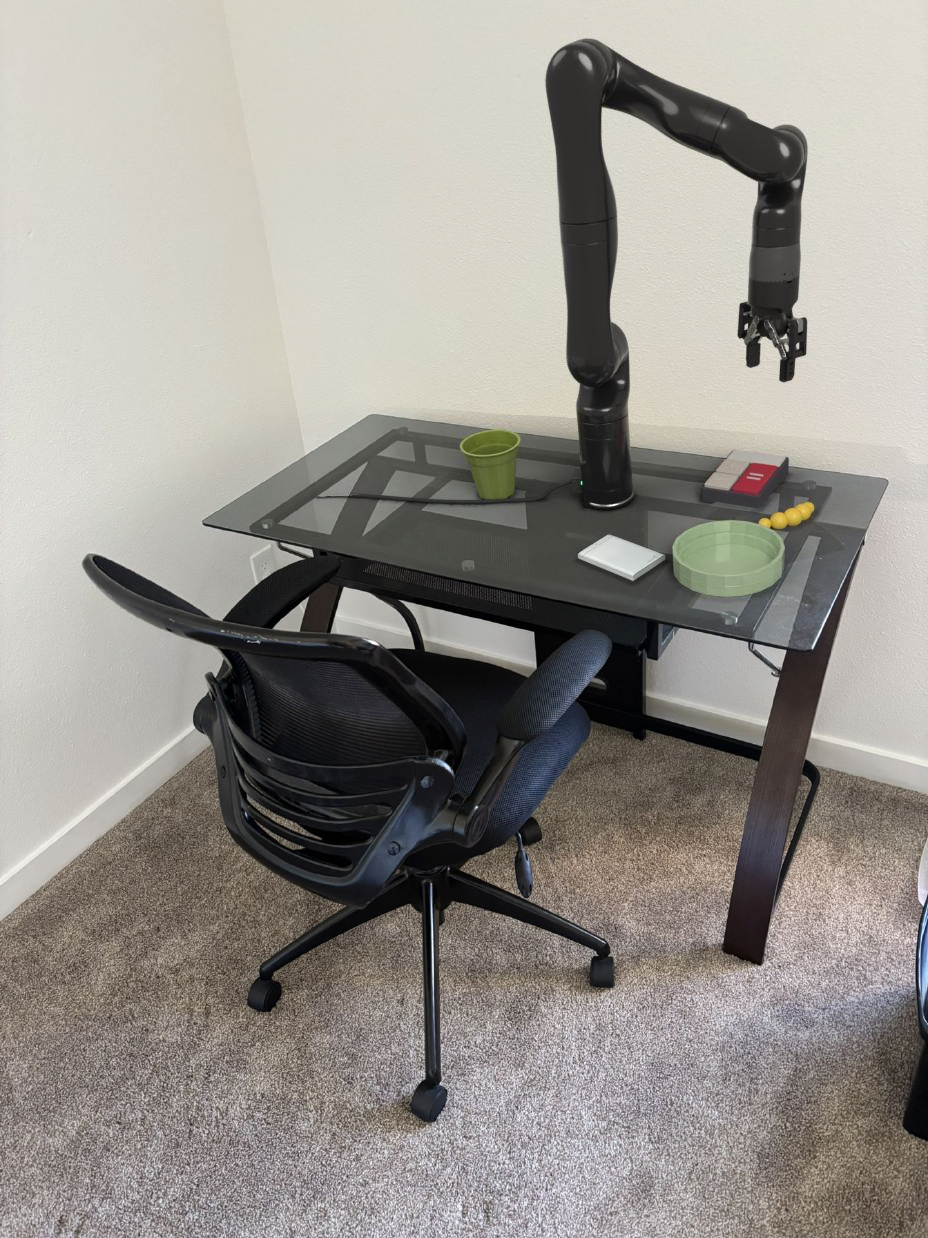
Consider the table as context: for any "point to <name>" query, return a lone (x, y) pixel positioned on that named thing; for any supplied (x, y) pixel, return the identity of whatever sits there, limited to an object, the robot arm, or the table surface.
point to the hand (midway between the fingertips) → (769, 373)
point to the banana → (789, 516)
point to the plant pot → (492, 462)
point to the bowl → (728, 558)
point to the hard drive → (621, 557)
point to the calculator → (745, 479)
